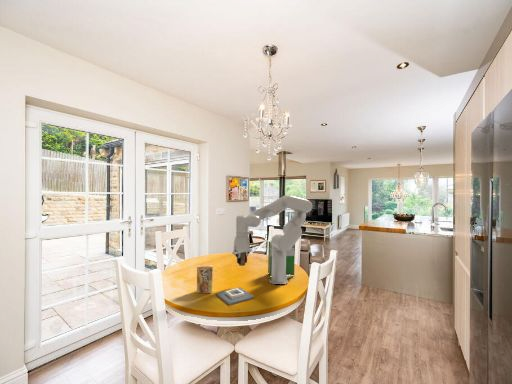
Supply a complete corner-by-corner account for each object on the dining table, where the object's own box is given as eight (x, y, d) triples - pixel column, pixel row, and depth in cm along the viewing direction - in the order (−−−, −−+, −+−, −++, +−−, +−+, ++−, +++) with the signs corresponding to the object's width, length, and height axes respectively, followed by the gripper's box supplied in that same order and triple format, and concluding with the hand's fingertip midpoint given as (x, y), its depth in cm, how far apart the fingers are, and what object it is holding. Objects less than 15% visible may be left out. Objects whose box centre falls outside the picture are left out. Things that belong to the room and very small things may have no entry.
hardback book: (270, 277, 168) (270, 243, 169) (268, 274, 176) (268, 241, 176) (294, 276, 171) (294, 243, 171) (291, 273, 178) (291, 241, 178)
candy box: (212, 290, 144) (213, 265, 144) (211, 293, 140) (212, 267, 140) (197, 290, 144) (198, 265, 144) (196, 293, 139) (197, 267, 139)
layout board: (239, 288, 147) (239, 284, 147) (254, 298, 134) (254, 293, 134) (215, 294, 138) (216, 290, 138) (229, 305, 125) (229, 300, 125)
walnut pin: (243, 263, 157) (243, 251, 157) (246, 265, 154) (246, 252, 154) (237, 264, 155) (237, 252, 155) (241, 266, 151) (241, 253, 151)
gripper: (249, 232, 162) (249, 259, 162) (227, 235, 152) (227, 263, 152) (256, 234, 156) (256, 262, 156) (233, 236, 146) (233, 266, 146)
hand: (242, 262), depth 154 cm, fingers closed on walnut pin, 4 cm apart
